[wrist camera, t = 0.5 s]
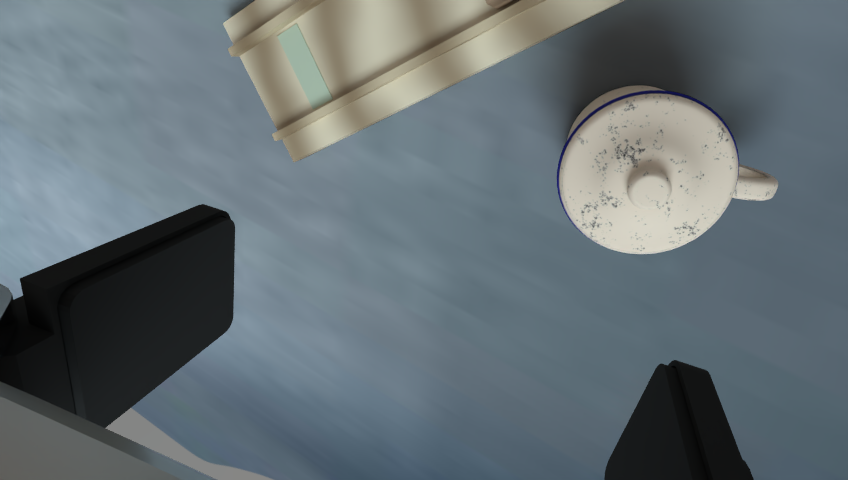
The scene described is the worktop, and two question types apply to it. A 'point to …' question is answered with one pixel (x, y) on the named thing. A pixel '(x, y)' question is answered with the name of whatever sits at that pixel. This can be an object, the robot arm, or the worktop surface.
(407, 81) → the birch rail board
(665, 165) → the teacup with lid
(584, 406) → the worktop surface
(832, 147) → the worktop surface
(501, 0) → the walnut slider
